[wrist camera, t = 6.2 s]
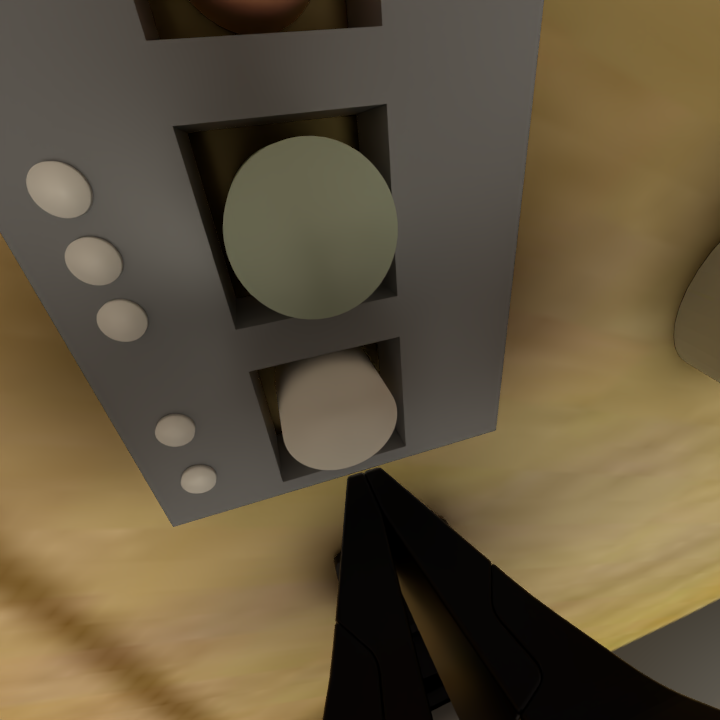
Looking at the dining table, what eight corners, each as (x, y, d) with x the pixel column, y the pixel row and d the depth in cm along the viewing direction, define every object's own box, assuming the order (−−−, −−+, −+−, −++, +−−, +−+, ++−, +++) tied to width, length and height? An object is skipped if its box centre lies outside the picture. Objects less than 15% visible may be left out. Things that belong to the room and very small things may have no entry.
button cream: (372, 402, 15) (399, 452, 13) (285, 425, 14) (295, 482, 12) (364, 323, 13) (393, 362, 11) (263, 345, 13) (270, 392, 10)
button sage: (365, 269, 11) (401, 302, 9) (247, 292, 11) (250, 334, 8) (352, 133, 10) (392, 125, 7) (208, 150, 9) (196, 148, 6)
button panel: (462, 395, 16) (498, 433, 14) (182, 471, 14) (172, 532, 12) (495, -269, 8) (602, -448, 5) (-226, -342, 5) (-563, -702, 3)
